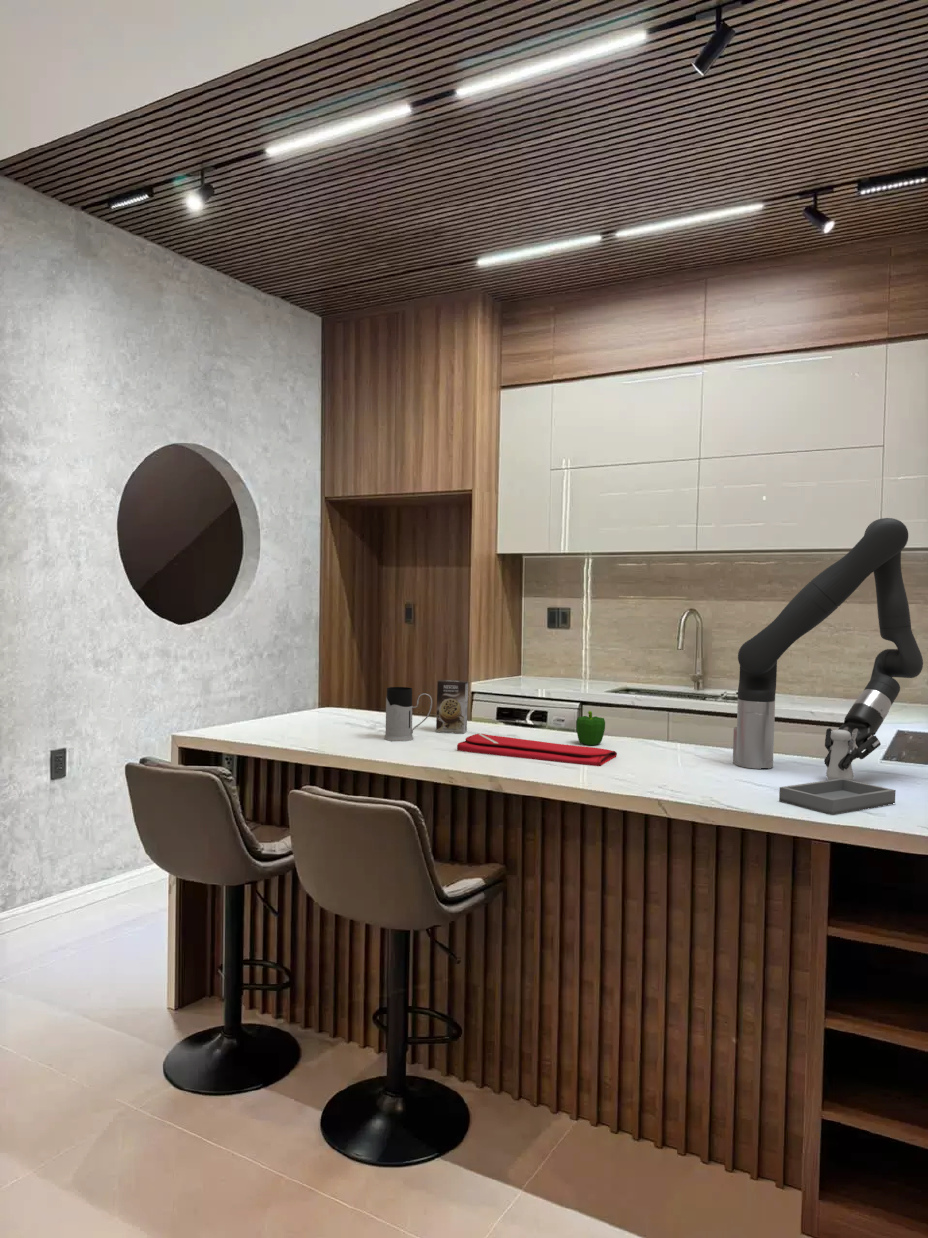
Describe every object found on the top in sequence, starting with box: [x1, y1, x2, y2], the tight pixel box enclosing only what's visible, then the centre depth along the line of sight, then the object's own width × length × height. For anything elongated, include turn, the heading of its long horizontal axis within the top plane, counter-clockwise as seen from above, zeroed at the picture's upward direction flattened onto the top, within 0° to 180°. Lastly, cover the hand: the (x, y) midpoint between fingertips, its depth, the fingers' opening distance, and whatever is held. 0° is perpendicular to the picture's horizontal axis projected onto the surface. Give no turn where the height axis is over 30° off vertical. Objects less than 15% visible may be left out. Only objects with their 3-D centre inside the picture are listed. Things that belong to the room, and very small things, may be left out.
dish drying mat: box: [456, 733, 618, 767], centre depth 234 cm, size 16×41×4 cm, turn 64°
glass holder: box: [383, 686, 433, 742], centre depth 253 cm, size 9×14×15 cm, turn 82°
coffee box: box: [435, 679, 469, 734], centre depth 269 cm, size 9×6×16 cm
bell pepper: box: [575, 710, 606, 746], centre depth 252 cm, size 8×8×10 cm
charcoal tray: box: [778, 778, 896, 816], centre depth 184 cm, size 13×21×3 cm, turn 121°
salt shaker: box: [825, 729, 854, 781], centre depth 202 cm, size 6×6×13 cm
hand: (834, 767), depth 201 cm, fingers closed on salt shaker, 3 cm apart
